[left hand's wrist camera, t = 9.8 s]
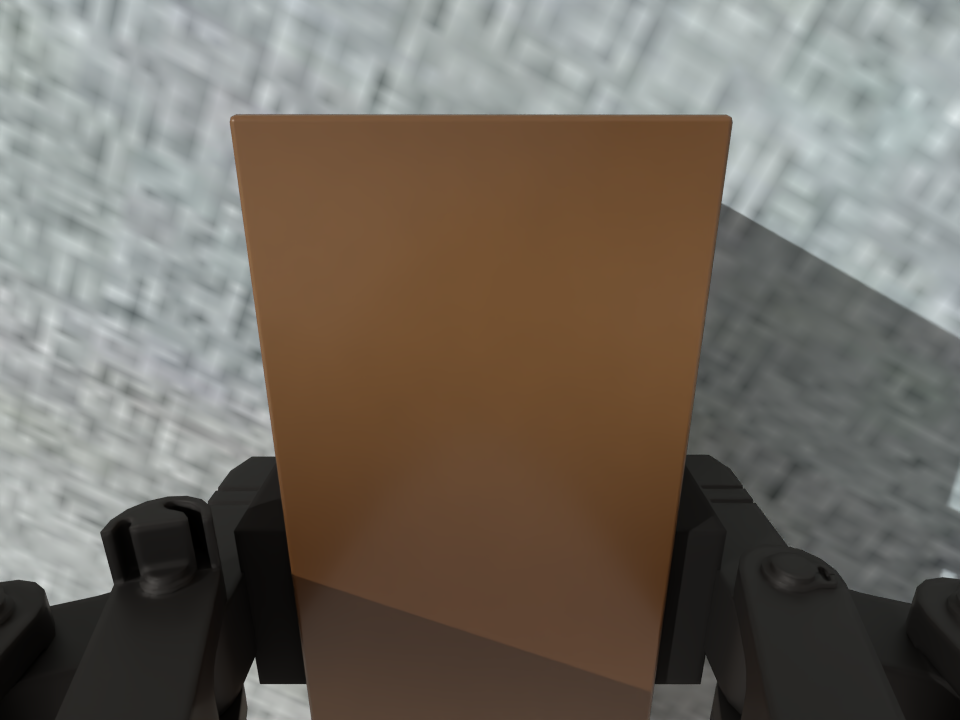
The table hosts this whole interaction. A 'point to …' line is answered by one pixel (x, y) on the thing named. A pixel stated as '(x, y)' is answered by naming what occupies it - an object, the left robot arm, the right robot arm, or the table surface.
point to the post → (480, 397)
